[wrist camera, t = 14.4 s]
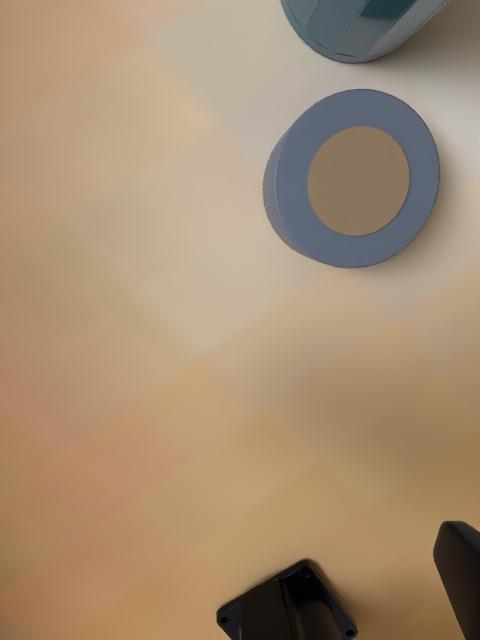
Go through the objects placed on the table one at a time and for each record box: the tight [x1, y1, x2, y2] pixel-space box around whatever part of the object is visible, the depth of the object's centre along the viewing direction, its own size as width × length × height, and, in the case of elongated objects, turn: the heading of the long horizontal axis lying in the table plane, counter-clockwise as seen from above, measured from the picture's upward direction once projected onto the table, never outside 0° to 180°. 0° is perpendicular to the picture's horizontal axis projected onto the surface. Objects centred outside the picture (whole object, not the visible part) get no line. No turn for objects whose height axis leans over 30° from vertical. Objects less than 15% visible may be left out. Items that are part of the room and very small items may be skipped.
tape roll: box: [263, 89, 440, 268], centre depth 17 cm, size 7×7×3 cm
